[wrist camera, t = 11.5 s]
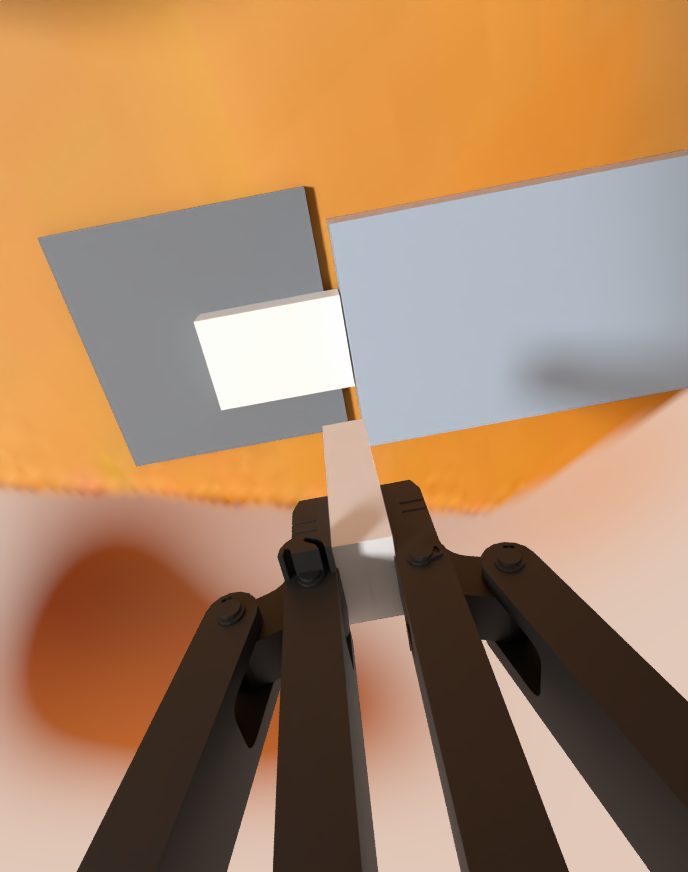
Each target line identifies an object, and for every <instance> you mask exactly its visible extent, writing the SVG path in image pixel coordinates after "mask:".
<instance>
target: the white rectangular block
mask: <svg viewBox="0 0 688 872" xmlns="http://www.w3.org/2000/svg"><path fill="white" fill-rule="evenodd" d="M194 325H195V328H196V331H197V334H198V338H199V341H200V344H201V347H202V350H203V353H204V357H205V360H206V363H207V366H208V369H209V373H210V376H211V379H212V382H213V385H214V389H215V392H216V395H217V398H218V401H219V405H220V408H221V410H226V409H231V408H237V407H242V406H248V405H253V404H259V403H264V402H270V401H275V400H281V399H286V398H292V397H297V396H303V395H308V394H314V393H319V392H325V391H330V390H336V389H341V388H347V387H352V386H355V384H354V378H353V373H352V367H351V361H350V355H349V349H348V343H347V337H346V331H345V325H344V319H343V313H342V307H341V302H340V296H339V292H338V288H337V289H332V290H327V291H321V292H316V293H311V294H305V295H300V296H294V297H289V298H284V299H278V300H273V301H267V302H262V303H257V304H251V305H246V306H241V307H235V308H230V309H224V310H219V311H214V312H208V313H203V314H200V315H199V316H198V317H197V318H196V320H195V321H194Z"/></svg>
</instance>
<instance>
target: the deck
mask: <svg viewBox="0 0 688 872" xmlns="http://www.w3.org/2000/svg"><path fill="white" fill-rule="evenodd" d="M327 224H328V229H329V235H330V241H331V247H332V253H333V258H334V264H335V270H336V276H337V282H338V287H339V293H340V299H341V305H342V310H343V316H344V322H345V328H346V334H347V339H348V345H349V351H350V357H351V363H352V368H353V374H354V380H355V386H356V391H357V397H358V403H359V409H360V415H361V419H364V423H365V427H366V431H367V436H368V440H369V444H370V446H374V445H380V444H385V443H391V442H396V441H401V440H407V439H412V438H418V437H423V436H429V435H434V434H439V433H445V432H450V431H456V430H461V429H467V428H472V427H478V426H483V425H488V424H494V423H499V422H505V421H510V420H516V419H521V418H527V417H532V416H537V415H543V414H548V413H554V412H559V411H565V410H570V409H575V408H581V407H586V406H592V405H597V404H603V403H608V402H614V401H619V400H624V399H630V398H635V397H641V396H646V395H652V394H657V393H663V392H668V391H673V390H679V389H684V388H688V150H682V151H677V152H671V153H666V154H661V155H656V156H651V157H645V158H640V159H635V160H630V161H625V162H620V163H614V164H609V165H604V166H599V167H594V168H589V169H583V170H578V171H573V172H568V173H563V174H557V175H552V176H547V177H542V178H537V179H532V180H526V181H521V182H516V183H511V184H506V185H500V186H495V187H490V188H485V189H480V190H475V191H469V192H464V193H459V194H454V195H449V196H443V197H438V198H433V199H428V200H423V201H418V202H412V203H407V204H402V205H397V206H392V207H386V208H381V209H376V210H371V211H366V212H361V213H355V214H350V215H345V216H340V217H335V218H329V219H327Z"/></svg>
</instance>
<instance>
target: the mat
mask: <svg viewBox="0 0 688 872" xmlns="http://www.w3.org/2000/svg"><path fill="white" fill-rule="evenodd" d="M38 240H39V243H40V245H41V247H42V250H43V252H44V254H45V257H46V259H47V261H48V264H49V266H50V268H51V270H52V273H53V275H54V277H55V280H56V282H57V284H58V287H59V289H60V291H61V294H62V296H63V298H64V300H65V303H66V305H67V307H68V310H69V312H70V314H71V317H72V319H73V321H74V324H75V326H76V328H77V331H78V333H79V335H80V337H81V340H82V342H83V344H84V347H85V349H86V351H87V354H88V356H89V358H90V361H91V363H92V365H93V367H94V370H95V372H96V374H97V377H98V379H99V381H100V384H101V386H102V388H103V391H104V393H105V395H106V397H107V400H108V402H109V404H110V407H111V409H112V411H113V414H114V416H115V418H116V421H117V423H118V425H119V428H120V430H121V432H122V434H123V437H124V439H125V441H126V444H127V446H128V448H129V451H130V453H131V455H132V458H133V460H134V462H135V464H136V466H141V465H146V464H152V463H157V462H162V461H168V460H173V459H179V458H184V457H189V456H195V455H200V454H206V453H211V452H217V451H222V450H227V449H233V448H238V447H244V446H249V445H254V444H260V443H265V442H271V441H276V440H282V439H287V438H292V437H298V436H303V435H309V434H314V433H319V432H323V427H322V426H326V425H331V424H337V423H342V422H347V421H348V419H347V413H346V408H345V403H344V397H343V392H342V388H341V389H336V390H330V391H325V392H319V393H314V394H308V395H303V396H297V397H292V398H286V399H281V400H275V401H270V402H264V403H259V404H253V405H248V406H242V407H237V408H231V409H226V410H221V408H220V405H219V401H218V398H217V395H216V392H215V389H214V385H213V382H212V379H211V376H210V373H209V369H208V366H207V363H206V360H205V357H204V353H203V350H202V347H201V344H200V341H199V338H198V334H197V331H196V328H195V325H194V321H195V320H196V318H197V317H198V316H199V315H200V314H203V313H208V312H214V311H219V310H224V309H230V308H235V307H241V306H246V305H251V304H257V303H262V302H267V301H273V300H278V299H284V298H289V297H294V296H300V295H305V294H311V293H316V292H321V291H323V285H322V280H321V275H320V269H319V264H318V259H317V253H316V248H315V243H314V237H313V232H312V227H311V221H310V216H309V211H308V205H307V200H306V195H305V189H304V186H302V187H297V188H292V189H286V190H281V191H276V192H271V193H266V194H261V195H256V196H250V197H245V198H240V199H235V200H230V201H225V202H220V203H214V204H209V205H204V206H199V207H194V208H189V209H184V210H178V211H173V212H168V213H163V214H158V215H153V216H148V217H142V218H137V219H132V220H127V221H122V222H117V223H112V224H106V225H101V226H96V227H91V228H86V229H81V230H76V231H70V232H65V233H60V234H55V235H50V236H45V237H40V238H38Z"/></svg>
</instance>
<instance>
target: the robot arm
mask: <svg viewBox="0 0 688 872" xmlns="http://www.w3.org/2000/svg"><path fill="white" fill-rule="evenodd" d="M322 427H323V440H324V454H325V467H326V480H327V493H328V496H325V497H320V498H314V499H309V500H303V501H299V503H298V504H297V506H296V508H295V509H294V511H293V515H292V525H293V526H292V539H291V540H289V541H288V542H286V543H285V544H284V545H283V546H282V547H281V549H280V550H279V553H278V560H279V563H280V566H281V570H282V573H283V576H284V580H285V582H284V583H283V584H282V585H281V586H280V587H278V588H277V589H276V590H274V591H272V592H271V593H269V594H267V595H264V596H262V597H260V598H258V599H255V598H254V597H253V596H252V595H250V594H249V593H244V592H236V593H230V594H228V595H225V596H223V597H221V598H219V599H218V600H217V601H215V602H214V603H213V604H212V605H211V606H210V608H209V609H208V610H207V612H206V614H205V615H204V617H203V620H202V621H201V623H200V625H199V628H198V629H197V631H196V634H195V635H194V637H193V639H192V641H191V644H190V645H189V648H188V649H187V651H186V654H185V656H184V658H183V660H182V662H181V664H180V666H179V668H178V670H177V672H176V674H175V676H174V678H173V680H172V682H171V684H170V686H169V688H168V690H167V692H166V694H165V696H164V698H163V700H162V702H161V704H160V706H159V708H158V710H157V712H156V714H155V716H154V718H153V720H152V722H151V724H150V726H149V728H148V730H147V732H146V734H145V736H144V738H143V740H142V742H141V744H140V746H139V748H138V750H137V752H136V754H135V756H134V758H133V760H132V762H131V764H130V766H129V768H128V770H127V772H126V774H125V776H124V778H123V780H122V782H121V784H120V786H119V788H118V790H117V792H116V794H115V796H114V798H113V800H112V802H111V804H110V806H109V808H108V810H107V812H106V815H105V816H104V818H103V820H102V822H101V824H100V826H99V828H98V830H97V832H96V834H95V836H94V838H93V840H92V843H91V844H90V846H89V848H88V850H87V852H86V854H85V856H84V858H83V860H82V862H81V864H80V867H79V868H78V870H77V872H227V869H228V865H229V862H230V859H231V855H232V852H233V848H234V845H235V842H236V838H237V835H238V832H239V828H240V825H241V821H242V818H243V814H244V811H245V807H246V804H247V800H248V797H249V794H250V790H251V787H252V783H253V780H254V776H255V773H256V769H257V766H258V762H259V759H260V756H261V752H262V749H263V745H264V742H265V738H266V735H267V732H268V728H269V725H270V721H271V718H272V715H273V711H274V707H275V704H276V701H277V697H278V694H279V690H280V689H281V690H280V712H279V714H280V715H279V737H278V761H277V762H278V763H277V785H276V809H275V834H274V858H273V872H378V867H377V857H376V848H375V840H374V830H373V821H372V812H371V804H370V803H371V802H370V793H369V785H368V776H367V766H366V757H365V748H364V739H363V730H362V720H361V711H360V702H359V694H358V684H357V675H356V666H355V656H354V648H353V640H352V636H351V632H350V627H349V623H350V624H355V623H360V622H366V621H371V620H377V619H382V618H388V617H393V616H399V615H405V620H406V627H407V633H408V639H409V645H410V651H412V655H413V659H414V664H415V668H416V673H417V677H418V681H419V686H420V691H421V695H422V700H423V704H424V709H425V713H426V718H427V722H428V726H429V730H430V735H431V740H432V744H433V749H434V753H435V758H436V762H437V767H438V771H439V776H440V780H441V785H442V789H443V793H444V797H445V802H446V806H447V811H448V816H449V820H450V824H451V829H452V834H453V838H454V843H455V847H456V851H457V856H458V860H459V865H460V869H461V872H569V871H568V868H567V865H566V863H565V860H564V857H563V855H562V852H561V850H560V847H559V844H558V842H557V839H556V836H555V834H554V831H553V828H552V826H551V823H550V821H549V818H548V815H547V813H546V810H545V807H544V805H543V802H542V799H541V797H540V794H539V791H538V789H537V786H536V784H535V781H534V778H533V776H532V773H531V770H530V768H529V765H528V762H527V760H526V757H525V754H524V752H523V749H522V747H521V744H520V741H519V739H518V736H517V733H516V731H515V728H514V726H513V723H512V720H511V718H510V715H509V712H508V710H507V707H506V704H505V702H504V699H503V697H502V694H501V691H500V688H499V686H498V683H497V681H496V678H495V675H494V673H493V670H492V667H491V665H490V662H489V659H488V657H487V654H486V651H485V649H484V646H483V644H482V641H481V640H486V641H487V643H488V645H489V647H490V648H491V649H492V651H493V652H494V654H495V655H496V656H497V658H498V659H499V661H500V662H501V663H502V665H503V666H504V667H505V669H506V670H507V672H508V673H509V675H510V676H511V677H512V679H513V680H514V682H515V683H516V684H517V686H518V687H519V688H520V690H521V691H522V693H523V694H524V696H525V697H526V698H527V700H528V701H529V703H530V704H531V705H532V707H533V708H534V709H535V711H536V712H537V714H538V715H539V717H540V718H541V719H542V721H543V722H544V724H545V725H546V726H547V728H548V729H549V730H550V732H551V733H552V735H553V736H554V738H555V739H556V740H557V742H558V743H559V745H560V746H561V747H562V749H563V750H564V751H565V753H566V754H567V756H568V757H569V759H570V760H571V761H572V763H573V764H574V766H575V767H576V768H577V770H578V771H579V773H580V774H581V775H582V776H583V778H584V779H585V781H586V782H587V784H588V785H589V787H590V788H591V789H592V791H593V792H594V794H595V795H596V796H597V798H598V799H599V800H600V802H601V803H602V805H603V806H604V807H605V809H606V810H607V812H608V813H609V814H610V816H611V817H612V819H613V820H614V821H615V823H616V824H617V826H618V827H619V828H620V830H621V831H622V833H623V834H624V835H625V837H626V838H627V840H628V841H629V842H630V844H631V845H632V847H633V848H634V849H635V851H636V852H637V854H638V855H639V856H640V858H641V859H642V861H643V862H644V863H645V864H646V866H647V868H648V869H649V870H650V872H688V701H687V700H686V699H685V698H684V697H682V695H681V694H679V693H678V692H677V691H676V690H675V689H674V688H673V687H672V686H671V685H670V684H669V683H668V682H667V681H666V680H665V679H664V678H663V677H662V676H661V675H660V674H659V673H658V672H657V671H656V670H655V669H654V668H653V667H652V666H651V665H650V664H649V663H648V662H646V661H645V660H644V659H643V658H642V657H641V656H640V655H639V654H638V653H637V652H636V651H635V650H634V649H633V648H632V647H631V646H630V645H629V644H628V643H627V642H626V641H625V640H624V639H623V638H622V637H621V636H620V635H618V633H617V632H616V631H614V630H613V629H612V628H611V627H610V626H609V625H608V624H607V623H606V622H605V621H604V620H603V619H602V618H601V617H600V616H599V615H598V614H597V613H596V612H595V611H594V610H593V609H592V608H591V607H590V606H589V605H588V604H587V603H586V602H584V600H582V599H581V598H580V597H579V596H578V595H577V594H576V593H575V592H574V591H573V590H572V589H571V588H570V587H569V586H568V585H567V584H566V583H565V582H564V581H563V580H562V579H561V578H560V577H559V576H558V575H557V574H556V573H555V572H554V571H553V570H551V568H550V567H548V566H547V565H546V564H545V563H544V562H543V561H542V560H541V559H540V558H539V557H538V556H537V555H536V554H535V553H534V552H533V551H531V550H530V549H528V548H527V547H525V546H523V545H520V544H517V543H509V542H502V543H498V544H494V545H492V546H490V547H489V548H487V549H486V550H485V551H484V552H483V554H482V555H481V557H474V556H464V555H459V554H456V553H453V552H451V551H449V550H447V549H446V548H445V547H444V545H442V544H441V542H440V541H439V539H438V536H437V533H436V531H435V528H434V525H433V523H432V520H431V517H430V514H429V512H428V509H427V506H426V504H425V501H424V498H423V496H422V493H421V490H420V488H419V487H418V486H417V485H415V484H414V483H413V482H412V481H411V480H406V481H400V482H395V483H390V484H384V485H380V484H379V480H378V476H377V472H376V468H375V464H374V460H373V456H372V452H371V448H370V444H369V440H368V436H367V431H366V427H365V423H364V419H358V420H353V421H347V422H342V423H337V424H331V425H326V426H322ZM280 687H281V688H280Z"/></svg>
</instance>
